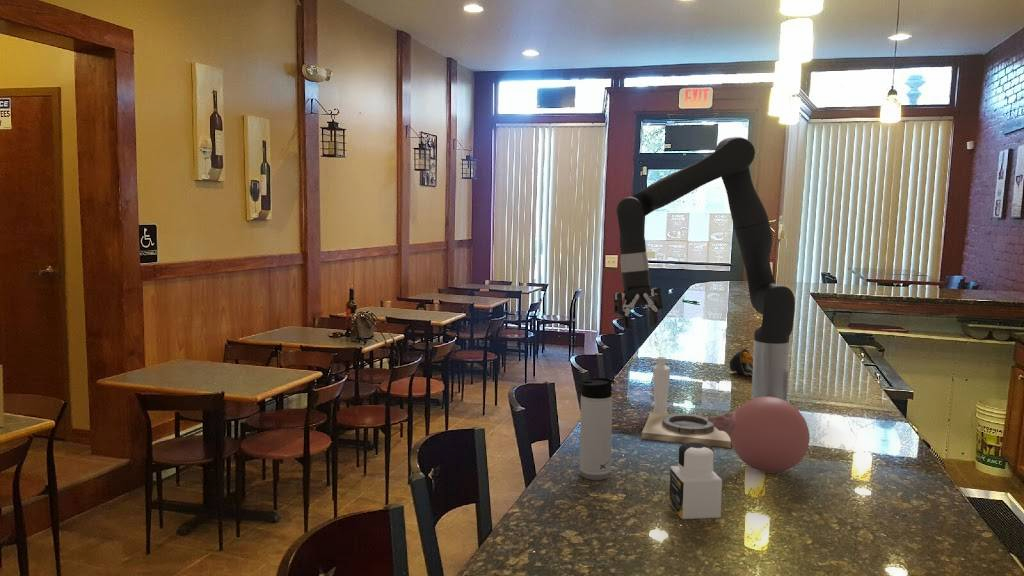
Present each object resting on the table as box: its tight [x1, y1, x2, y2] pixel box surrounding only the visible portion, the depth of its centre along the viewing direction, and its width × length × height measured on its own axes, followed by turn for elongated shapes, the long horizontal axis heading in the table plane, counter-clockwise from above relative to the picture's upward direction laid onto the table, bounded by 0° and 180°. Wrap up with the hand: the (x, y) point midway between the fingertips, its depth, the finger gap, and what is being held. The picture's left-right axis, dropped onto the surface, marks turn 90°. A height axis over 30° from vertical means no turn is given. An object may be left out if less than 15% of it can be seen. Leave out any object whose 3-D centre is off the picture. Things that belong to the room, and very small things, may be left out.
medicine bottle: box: [668, 442, 723, 520], centre depth 123 cm, size 7×7×12 cm
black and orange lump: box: [729, 348, 753, 378], centre depth 222 cm, size 9×11×18 cm
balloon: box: [707, 397, 810, 474], centre depth 143 cm, size 15×20×15 cm
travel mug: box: [579, 377, 615, 481], centre depth 139 cm, size 6×7×20 cm
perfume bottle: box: [652, 356, 672, 414], centre depth 182 cm, size 5×4×15 cm
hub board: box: [641, 412, 732, 449], centre depth 167 cm, size 20×17×3 cm
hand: (640, 327), depth 191 cm, fingers open, 8 cm apart
